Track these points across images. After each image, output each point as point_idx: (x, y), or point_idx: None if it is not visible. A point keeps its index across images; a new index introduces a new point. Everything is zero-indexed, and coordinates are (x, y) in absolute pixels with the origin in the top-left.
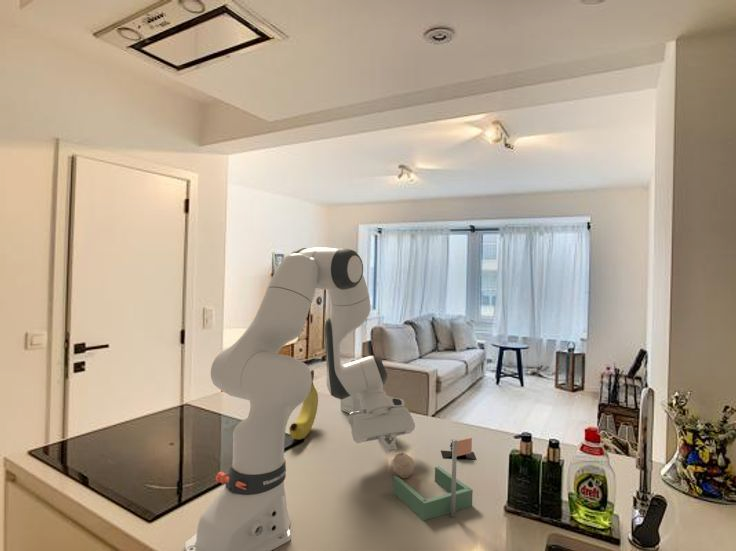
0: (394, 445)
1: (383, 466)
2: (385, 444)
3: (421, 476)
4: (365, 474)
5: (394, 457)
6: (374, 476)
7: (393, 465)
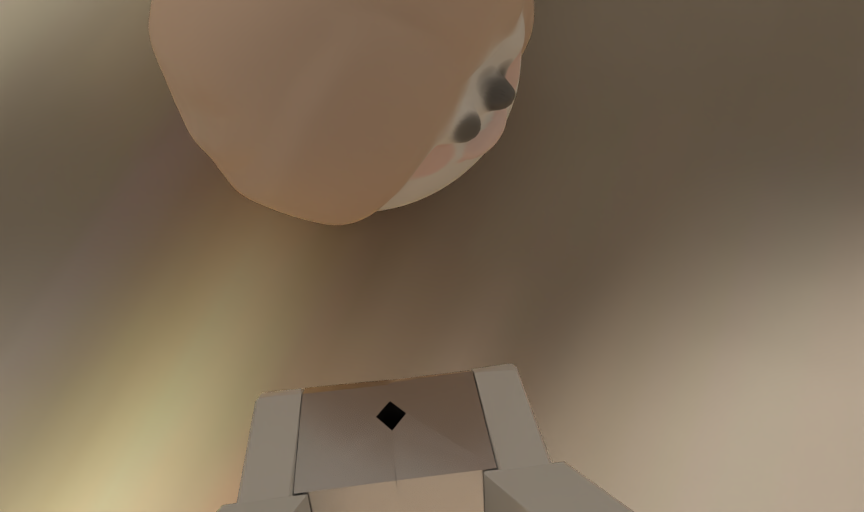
0: (291, 441)
1: None
2: (580, 485)
3: None
4: (857, 298)
5: (513, 5)
6: (746, 209)
7: (520, 63)
